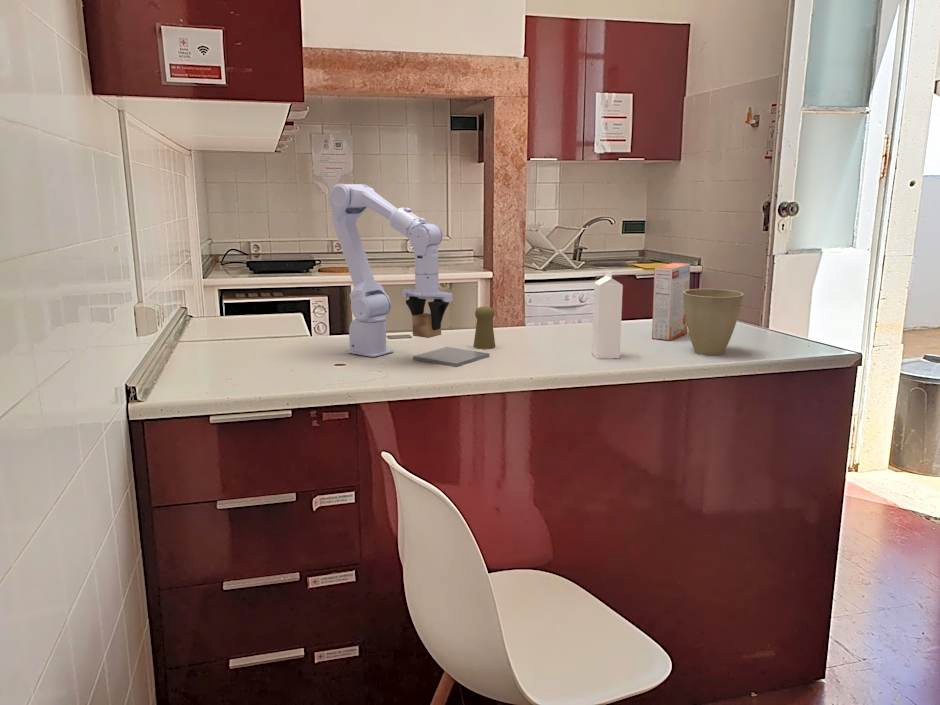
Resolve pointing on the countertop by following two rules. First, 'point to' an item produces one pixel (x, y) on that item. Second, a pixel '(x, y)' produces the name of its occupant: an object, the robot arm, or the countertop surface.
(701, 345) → the plant pot
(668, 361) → the countertop surface
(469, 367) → the countertop surface
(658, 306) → the cracker box
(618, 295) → the milk
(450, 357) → the slate board
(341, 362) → the countertop surface
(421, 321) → the walnut cube
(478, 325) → the cork
